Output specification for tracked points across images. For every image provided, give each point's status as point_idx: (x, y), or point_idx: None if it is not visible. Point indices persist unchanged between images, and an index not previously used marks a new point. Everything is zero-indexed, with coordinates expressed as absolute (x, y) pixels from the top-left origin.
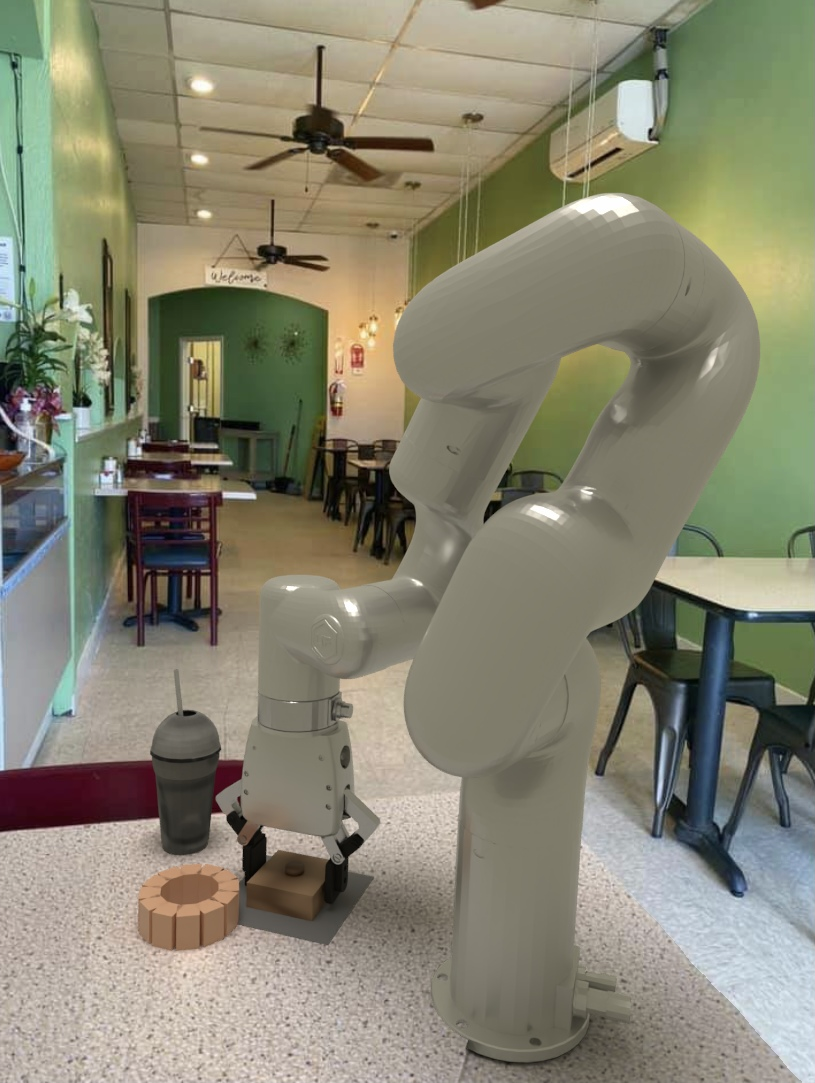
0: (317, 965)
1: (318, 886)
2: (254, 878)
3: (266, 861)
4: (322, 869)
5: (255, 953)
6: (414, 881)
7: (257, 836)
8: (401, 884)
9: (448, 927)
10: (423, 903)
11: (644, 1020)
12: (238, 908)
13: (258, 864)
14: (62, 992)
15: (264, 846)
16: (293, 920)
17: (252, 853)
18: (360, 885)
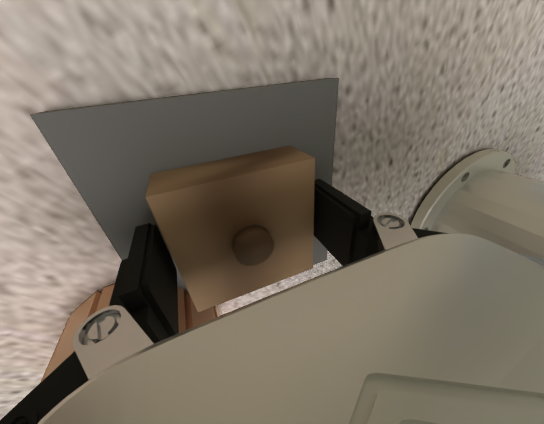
0: (315, 265)
1: (310, 245)
2: (200, 299)
3: (75, 148)
4: (294, 203)
5: (252, 292)
6: (389, 15)
7: (159, 338)
8: (368, 42)
9: (426, 133)
10: (402, 91)
11: (524, 168)
12: (214, 316)
13: (168, 274)
14: None
15: (155, 276)
16: None
17: (178, 329)
18: (323, 124)
